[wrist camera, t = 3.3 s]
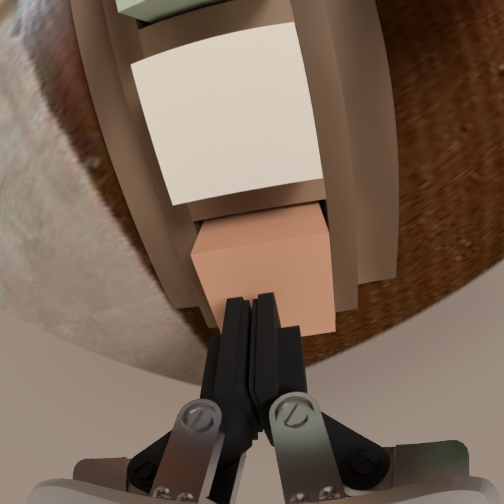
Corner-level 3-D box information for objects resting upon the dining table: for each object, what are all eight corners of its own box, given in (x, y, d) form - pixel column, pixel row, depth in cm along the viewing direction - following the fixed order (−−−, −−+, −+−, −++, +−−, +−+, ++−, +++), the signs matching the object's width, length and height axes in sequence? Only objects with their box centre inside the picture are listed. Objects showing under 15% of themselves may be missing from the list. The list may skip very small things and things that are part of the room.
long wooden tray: (333, -94, 6) (347, -124, 3) (390, 268, 18) (408, 305, 15) (75, -27, 9) (38, -38, 6) (176, 298, 20) (163, 337, 17)
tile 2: (287, 35, 9) (294, 22, 7) (310, 154, 12) (322, 178, 9) (161, 65, 10) (130, 64, 7) (192, 176, 13) (172, 205, 10)
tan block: (317, 199, 13) (329, 233, 10) (326, 288, 15) (335, 331, 13) (204, 218, 14) (190, 254, 11) (231, 301, 16) (225, 344, 14)
